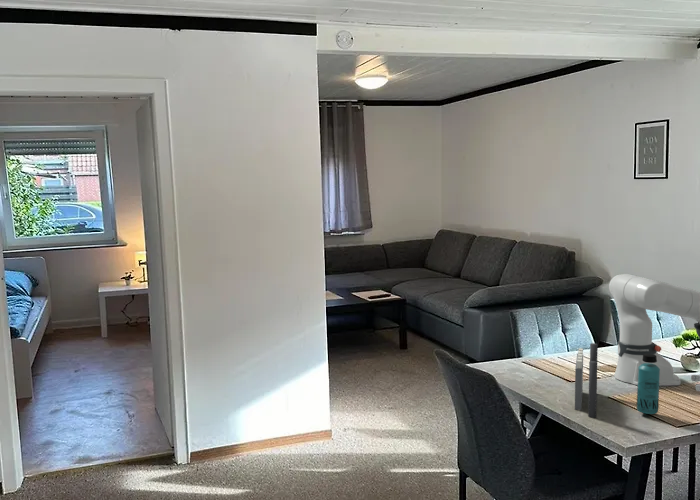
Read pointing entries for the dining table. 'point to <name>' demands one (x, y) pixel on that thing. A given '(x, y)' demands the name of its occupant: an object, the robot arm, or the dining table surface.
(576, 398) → the breaker panel
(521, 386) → the dining table surface
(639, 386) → the beverage bottle
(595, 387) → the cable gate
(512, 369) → the dining table surface
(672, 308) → the robot arm
